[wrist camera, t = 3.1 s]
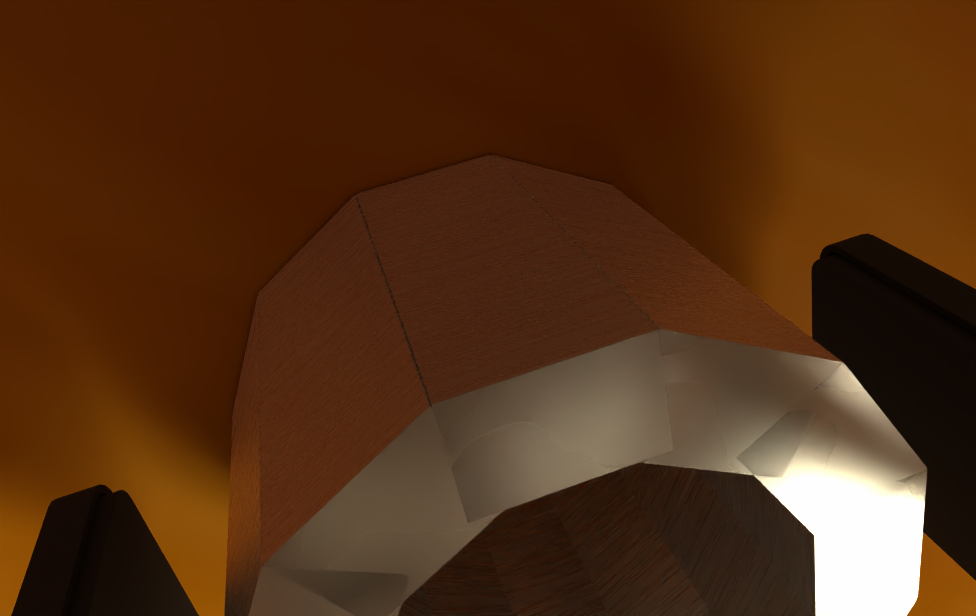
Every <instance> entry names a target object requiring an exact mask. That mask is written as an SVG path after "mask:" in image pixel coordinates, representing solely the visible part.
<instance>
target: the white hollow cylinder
mask: <svg viewBox="0 0 976 616" xmlns="http://www.w3.org/2000/svg"><path fill="white" fill-rule="evenodd" d="M926 468H927V467H926V466H925V465H924V463H923V462H922V461H921V460H920V458H919V457H918V456H917V455H916V453H915V452H914V451H913V450H912V448H911V447H910V446H909V445H908V443H907V442H906V441H905V439H904V438H903V437H902V436H901V434H900V433H899V432H898V431H897V429H896V428H895V427H894V426H893V424H892V423H891V422H890V421H889V419H888V418H887V417H886V415H885V414H884V413H883V412H882V410H881V409H880V408H879V407H878V405H877V404H876V403H875V402H874V400H873V399H872V398H871V397H870V395H869V394H868V393H867V391H866V390H865V389H864V388H863V386H862V385H861V384H860V383H859V381H858V380H857V379H856V378H855V376H854V375H853V374H852V373H851V371H850V370H849V369H848V367H847V366H846V365H845V364H844V363H843V362H842V361H841V360H839V359H838V358H837V357H835V356H834V355H833V354H832V353H830V352H829V351H828V350H826V349H825V348H824V347H822V346H821V345H820V344H819V343H817V342H816V341H815V340H813V339H812V338H811V337H809V336H808V335H807V334H806V333H804V332H803V331H802V330H800V329H799V328H798V327H796V326H795V325H794V324H793V323H791V322H790V321H789V320H787V319H786V318H785V317H783V316H782V315H781V314H780V313H778V312H777V311H776V310H774V309H773V308H772V307H770V306H769V305H768V304H767V303H765V302H764V301H763V300H761V299H760V298H759V297H757V296H756V295H755V294H754V293H752V292H751V291H750V290H748V289H747V288H746V287H744V286H743V285H742V284H740V283H739V282H738V281H737V280H735V279H734V278H733V277H731V276H730V275H729V274H727V273H726V272H725V271H724V270H722V269H721V268H720V267H718V266H717V265H716V264H714V263H713V262H712V261H711V260H709V259H708V258H707V257H705V256H704V255H703V254H701V253H700V252H699V251H698V250H696V249H695V248H694V247H692V246H691V245H690V244H688V243H687V242H686V241H685V240H683V239H682V238H681V237H679V236H678V235H677V234H675V233H674V232H673V231H672V230H670V229H669V228H668V227H666V226H665V225H664V224H662V223H661V222H660V221H659V220H657V219H656V218H655V217H653V216H652V215H651V214H649V213H648V212H647V211H646V210H644V209H643V208H642V207H640V206H639V205H638V204H636V203H635V202H634V201H633V200H631V199H630V198H629V197H627V196H626V195H625V194H623V193H622V192H621V191H620V190H618V189H617V188H616V187H614V186H613V185H611V184H608V183H604V182H600V181H596V180H592V179H588V178H584V177H580V176H576V175H572V174H568V173H564V172H560V171H556V170H552V169H548V168H544V167H540V166H536V165H532V164H528V163H524V162H520V161H516V160H512V159H508V158H504V157H500V156H496V155H492V154H491V155H490V154H489V155H486V156H482V157H479V158H476V159H472V160H469V161H465V162H462V163H459V164H455V165H452V166H448V167H445V168H442V169H438V170H435V171H431V172H428V173H425V174H421V175H418V176H414V177H411V178H408V179H404V180H401V181H397V182H394V183H391V184H387V185H384V186H380V187H377V188H374V189H370V190H367V191H363V192H360V193H357V194H356V195H353V197H352V198H351V199H350V200H349V201H348V202H347V203H346V204H345V205H344V206H343V207H342V208H341V209H340V210H339V211H338V212H337V213H336V214H335V215H334V216H333V217H332V218H331V219H330V220H329V221H328V222H327V223H326V224H325V225H324V226H323V227H322V228H321V229H320V230H319V231H318V232H317V233H316V234H315V235H314V236H313V237H312V238H311V239H310V240H309V241H308V242H307V243H306V244H305V245H304V246H303V247H302V248H301V249H300V250H299V251H298V253H297V254H296V255H295V256H294V257H293V258H292V259H291V260H290V261H289V262H288V263H287V264H286V265H285V266H284V267H283V268H282V269H281V270H280V271H279V272H278V273H277V274H276V275H275V276H274V277H273V278H272V279H271V280H270V281H269V282H268V283H267V284H266V285H265V286H264V287H263V288H262V289H261V290H260V291H259V294H258V295H257V300H256V304H255V309H254V314H253V318H252V323H251V328H250V332H249V337H248V342H247V346H246V351H245V356H244V360H243V365H242V370H241V375H240V379H239V384H238V389H237V393H236V398H235V403H234V407H233V420H232V445H231V470H230V494H229V519H228V543H227V568H226V593H225V616H906V615H907V613H908V612H909V610H910V609H911V607H912V606H913V604H914V603H915V601H916V598H917V596H918V583H919V570H920V557H921V545H922V532H923V519H924V506H925V494H926V481H927V469H926Z"/></svg>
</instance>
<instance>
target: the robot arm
mask: <svg viewBox="0 0 976 616" xmlns="http://www.w3.org/2000/svg"><path fill="white" fill-rule="evenodd" d="M812 339H813V340H815V341H816V342H817V343H819V344H820V345H821V346H822V347H824V348H825V349H826V350H828V351H829V352H830V353H832V354H833V355H834V356H835V357H837V358H838V359H839V360H841V361H842V362H843V363H844V364H845V365H846V366H847V367H848V369H849V370H850V371H851V373H852V374H853V375H854V376H855V378H856V379H857V380H858V381H859V383H860V384H861V385H862V386H863V388H864V389H865V390H866V391H867V393H868V394H869V395H870V397H871V398H872V399H873V400H874V402H875V403H876V404H877V405H878V407H879V408H880V409H881V410H882V412H883V413H884V414H885V415H886V417H887V418H888V419H889V421H890V422H891V423H892V424H893V426H894V427H895V428H896V429H897V431H898V432H899V433H900V434H901V436H902V437H903V438H904V439H905V441H906V442H907V443H908V445H909V446H910V447H911V448H912V450H913V451H914V452H915V453H916V455H917V456H918V457H919V458H920V460H921V461H922V462H923V463H924V465H925V466H926V467H927V468H926V469H927V481H926V494H925V506H924V519H923V532H924V533H925V534H926V535H927V536H928V537H929V538H931V539H932V540H933V541H934V542H935V543H936V544H937V545H938V546H939V547H940V548H941V549H942V550H943V551H945V552H946V553H947V554H948V555H949V556H950V557H951V558H952V559H953V560H954V561H955V562H956V563H957V564H959V565H960V566H961V567H962V568H963V569H964V570H965V571H966V572H967V573H968V574H969V575H970V576H971V577H973V578H974V579H975V580H976V289H974V288H972V287H971V286H969V285H967V284H965V283H963V282H961V281H959V280H957V279H955V278H953V277H952V276H950V275H948V274H946V273H944V272H942V271H940V270H938V269H936V268H934V267H933V266H931V265H929V264H927V263H925V262H923V261H921V260H919V259H917V258H915V257H914V256H912V255H910V254H908V253H906V252H904V251H902V250H900V249H898V248H896V247H894V246H893V245H891V244H889V243H887V242H885V241H883V240H881V239H879V238H877V237H875V236H873V235H870V234H861V235H858V236H855V237H852V238H849V239H846V240H843V241H840V242H837V243H834V244H831V245H828V246H826V247H825V248H824V249H823V250H822V252H821V255H820V259H819V260H817V261H816V262H814V264H813V266H812ZM11 616H199V615H198V613H197V612H196V610H195V608H194V606H193V605H192V603H191V601H190V600H189V598H188V596H187V594H186V593H185V591H184V589H183V587H182V586H181V584H180V582H179V580H178V579H177V577H176V575H175V573H174V572H173V570H172V568H171V567H170V565H169V563H168V561H167V560H166V558H165V556H164V554H163V553H162V551H161V549H160V547H159V546H158V544H157V542H156V540H155V539H154V537H153V535H152V534H151V532H150V530H149V528H148V527H147V525H146V523H145V521H144V520H143V518H142V516H141V514H140V513H139V511H138V509H137V507H136V506H135V504H134V502H133V500H132V499H131V497H130V496H129V494H128V493H127V492H125V491H123V490H120V491H117V492H114V493H112V491H111V490H110V489H109V488H108V487H107V486H105V485H101V484H100V485H97V486H94V487H91V488H88V489H85V490H82V491H79V492H76V493H73V494H70V495H67V496H64V497H60V498H57V499H55V500H53V501H52V502H51V503H50V505H49V507H48V510H47V513H46V516H45V519H44V521H43V524H42V527H41V530H40V533H39V536H38V539H37V542H36V545H35V548H34V551H33V554H32V557H31V560H30V563H29V566H28V568H27V571H26V574H25V577H24V580H23V583H22V586H21V589H20V592H19V595H18V598H17V601H16V604H15V607H14V610H13V612H12V615H11Z"/></svg>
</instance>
